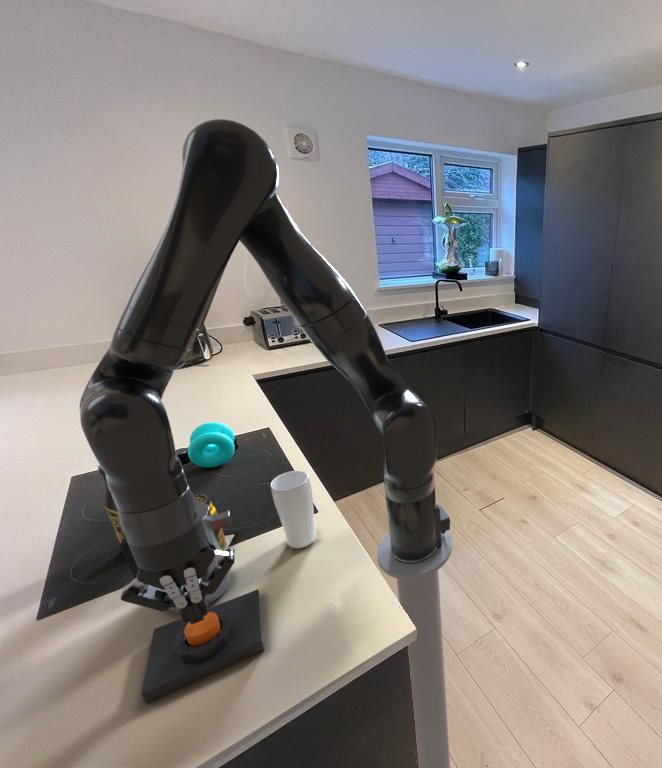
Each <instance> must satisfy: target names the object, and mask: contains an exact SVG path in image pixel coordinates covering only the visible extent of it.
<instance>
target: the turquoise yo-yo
mask: <svg viewBox="0 0 662 768" xmlns="http://www.w3.org/2000/svg"><path fill="white" fill-rule="evenodd" d="M234 442H235V433H234V431H233V429H232V428H231V427H230V426H229V425H227V424H226V423H222V422H219V421H209V422H205V423H202V424H200V425H198V426H197V427H195V428H194V430H193V431H192V432H191V434H190V437H189V444H188V447H187V456H188V458H189V460H190V461H191V462H192V463H193V464H195V465H196V466H198V467H200V468H201V467H202V468H217V467H220V466H222V465H224V464H226V463H227V462H229V461H230V460H231V459H232V457H233V455H234V453H235V443H234Z"/></svg>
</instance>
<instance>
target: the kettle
mask: <svg viewBox="0 0 662 768" xmlns="http://www.w3.org/2000/svg"><path fill="white" fill-rule="evenodd" d="M196 503H197V506H198V509H199V512H200V515H201V519H202V522H203V525H204V528H205V531H206V535H207V538H208V541H209V542H210V543H211V544H213V545H214V546H215V548H216V550H219V551H222V549H221V546H220V542H219V539H218V536H217V533H216V530H218V529H222V530H223V529H225V528H229V527H231V526H232V524H233V521H232V520H233V519H232V515H231V513H230V510H227V511H223V512H219V513H218V514H216V515H212V516H211V513H210V510H209V507H208V505H207V504H206V503H204V502H200V501H196ZM119 546H120V549H121V551H122V553H123V555H124V557H125V560H126V563H127V565H128V567H129V570H130V572H131V574H132V576H133V580H134V579H135V578H136V575H137V572H138V567H137V564H136V562H135V559H134V557H133V554H132V552H131V550H130V547H129V545H128V542H127V540H126V539H125V538H124V539H122V541H121V543H120V544H119ZM214 568H215V560H213V561H212V562H211V564H210V566H209V567H208V569H207V571H206V572H205V574H204V575H203V576H202V577H201V578H202V583H204V582H205V581H207V578H208V577H209V575H210V574H211V572H212V571H213V569H214ZM231 581H232V579H231V574H230V571H229V572H228V573H227V575H226V576H225V578H224V579H223V581H222V582H221V584H220V585H219V587H218V588H217V590H216V591H215V592H214V593H213V594H207V595H206V599H207V602H208V606H209V605H211V604H212V603H214V602H215V601H217V600H218V599H219V598H221V596H222V595H223V594H224V593H225V592H226V591H227V590H228V588H229V586H230V584H231ZM186 586H187V585H186ZM187 588H188V587H187ZM189 595H190V593H189ZM168 610H170V611H172V612H174V613H176V614H177V613H178V614H181V612H180V610H179V609H178V608H177V607H170V608H169V609H168Z"/></svg>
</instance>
